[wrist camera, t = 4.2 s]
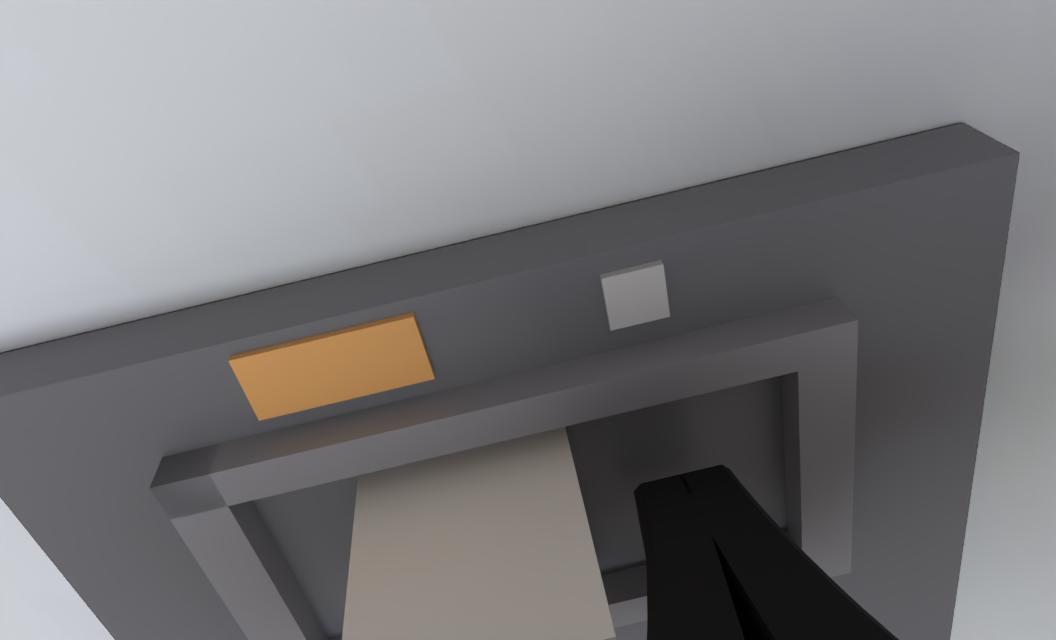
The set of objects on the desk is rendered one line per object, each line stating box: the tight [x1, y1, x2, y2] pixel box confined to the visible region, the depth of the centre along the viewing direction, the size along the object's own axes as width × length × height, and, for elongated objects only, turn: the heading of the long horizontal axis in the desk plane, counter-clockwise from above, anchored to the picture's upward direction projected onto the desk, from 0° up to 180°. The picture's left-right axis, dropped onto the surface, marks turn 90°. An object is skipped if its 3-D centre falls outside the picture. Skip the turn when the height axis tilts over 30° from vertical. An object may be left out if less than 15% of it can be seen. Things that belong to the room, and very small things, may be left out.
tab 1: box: [342, 427, 617, 640], centre depth 10 cm, size 3×3×4 cm
